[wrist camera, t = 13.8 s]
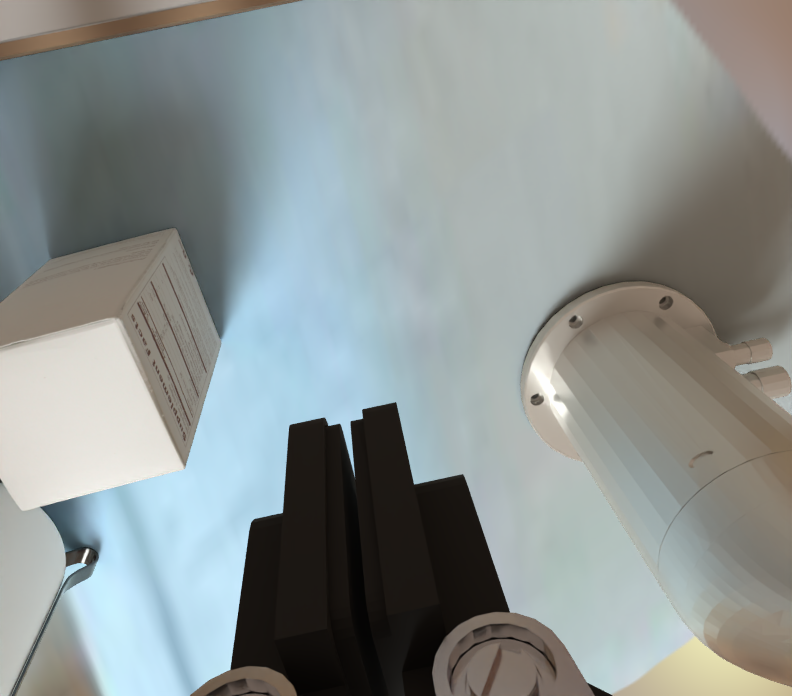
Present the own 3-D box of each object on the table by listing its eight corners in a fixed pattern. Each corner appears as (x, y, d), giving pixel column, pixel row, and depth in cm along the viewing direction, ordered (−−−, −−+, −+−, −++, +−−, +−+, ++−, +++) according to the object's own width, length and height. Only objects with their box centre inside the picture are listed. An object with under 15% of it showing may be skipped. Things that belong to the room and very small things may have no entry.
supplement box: (103, 374, 38) (14, 517, 27) (46, 256, 35) (-83, 362, 24) (226, 344, 38) (188, 474, 27) (181, 223, 35) (116, 314, 24)
